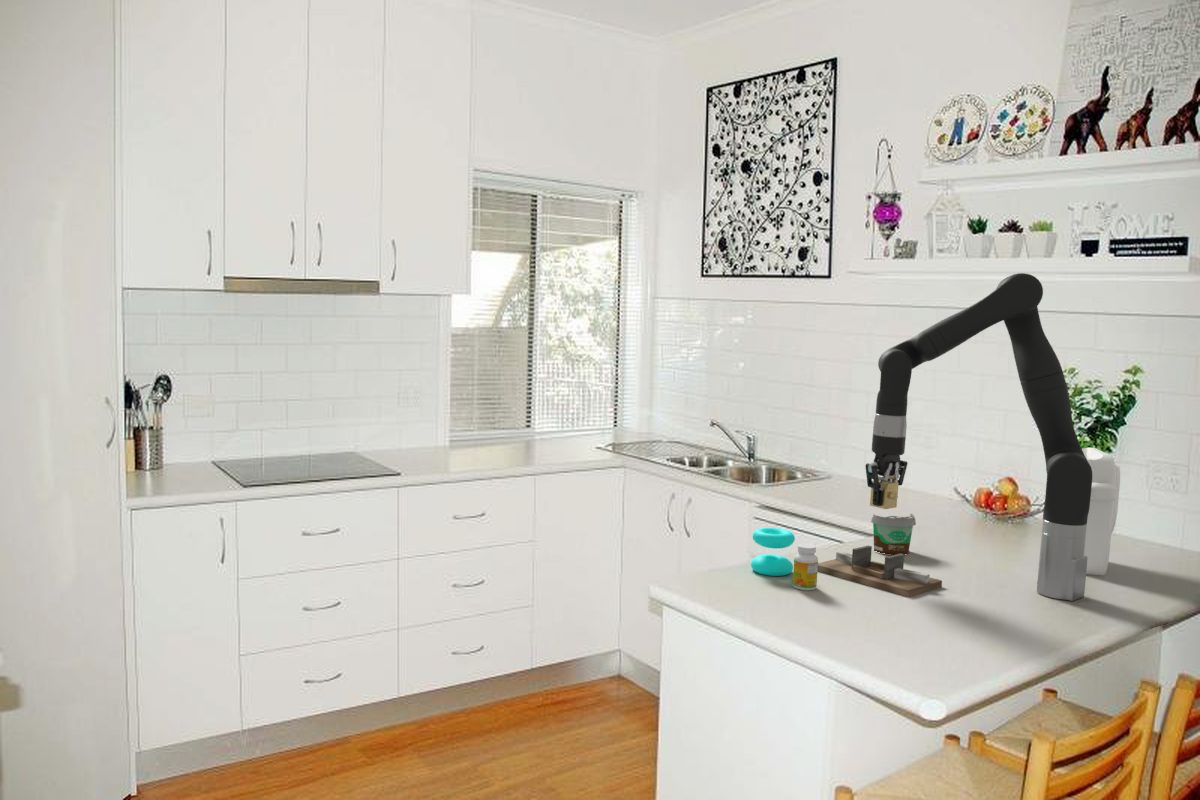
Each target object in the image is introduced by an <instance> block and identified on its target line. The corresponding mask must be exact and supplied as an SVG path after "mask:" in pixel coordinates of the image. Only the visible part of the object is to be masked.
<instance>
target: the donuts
mask: <svg viewBox="0 0 1200 800" xmlns="http://www.w3.org/2000/svg"><path fill="white" fill-rule="evenodd" d="M795 537H796V536H795V534H794V533H793V532H792V531H790V530H788V529H785V528H778V527H760V528H757V529H756V530H753V533H752V540H753V541H754V543H756V544H757V545H759V546H761V547H763V548H768V549H785V548H788V547H790V546H792V545H793V544H794V542H795V540H796V539H795ZM750 566H751V569H752V570H753V571H754V572H755V573H757V574H760V575H763V576H771V577H782V576H787V575H789V574H790V573H792V571H793V570H794V563H793V562H792V561H791V560H790V558H789V559H788V558H787V557H786V556H783V555H780V554H779V555H778V554H772V553H771V554H768V553H764V554H759V555H757V556H755V557H754V558H753V559H752V560H751V562H750Z"/></svg>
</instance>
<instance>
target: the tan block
mask: <svg viewBox="0 0 1200 800" xmlns="http://www.w3.org/2000/svg"><path fill="white" fill-rule="evenodd" d="M880 482H881V480H879V485H880ZM872 483H873V480H872ZM898 484H899V483H898V482H893V481H889V480H887V482H885V483H884V488H883V490H882V491H883V501H882V506H876V505H873V489H872V488H871V487H870V489H871V490H870V498H869V499H870V500H869V501H870V502H869V506H871V507H874V508H878V509H882V510H888V509H895V508H897V507H898V497H899V496H898V494H899V486H898Z"/></svg>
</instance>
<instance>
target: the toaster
mask: <svg viewBox="0 0 1200 800" xmlns="http://www.w3.org/2000/svg"><path fill="white" fill-rule="evenodd" d="M1081 449H1082V451H1083V453H1084V455H1085V457H1086V459H1087V461H1088V462H1089V464H1090V466H1091V469H1092V488H1091V498H1090V508H1089V513H1088V518H1087V528H1086V539H1085V551H1084V556H1087V557H1088V559H1087V570H1086V575H1093V576H1105V575H1106V573H1107V569H1108V566H1109V560H1110V559H1109V558H1110V552H1111V541H1112V534H1113V532H1114V531H1115V526H1116V523H1117V518H1118V507H1119V496H1120V488H1121V487H1120V485H1121V468H1120V466H1119V465H1117V464H1116V462H1115V460H1114V458H1113V457H1112V456H1111V454H1108V453H1106V452H1104V451H1102V450H1100V449H1099V448H1096V447H1089V446H1088V447H1081Z"/></svg>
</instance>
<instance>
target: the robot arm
mask: <svg viewBox="0 0 1200 800" xmlns="http://www.w3.org/2000/svg"><path fill="white" fill-rule="evenodd" d="M1043 296H1044V288H1043V285H1042V283H1041V281H1040V280H1039V278H1037V277H1036V276H1034V275H1032V274H1029V273H1023V272H1022V273H1021V272H1019V273H1013V274H1011V275H1009V276H1007V277H1005V278H1003V279H1001V281H1000V282H998V284H997V287H996V288H995V290H993V291H992V292H990V293H989V294H988V295H987V296H985V297H984V298H982V299H981V300H979V301H977V302H976V303H974V304H972V305H970V306H969V307H967V308H965V309H963V310H960V311H958V312H957V313H954V314H952V315H949V316H947V317H946V318H944V319H942V320H940V321H938V322H935V324H933V325H931V326H929V327H928V328H925V329H923V330H922V331H921V332H919V333H917V335H915V336H913V337H911V338H909V339H907V340H905V341H903V342H900V343H898V344H896V345H894V346H892V347H890V348H888V349H887V350H885V351H884V352H883V353H882V354H880V356H879V359H878V363H877V364H878V365H877V366H878V370H879V371H880V378H879V381H880V382H879V390H878V392H877V396H876V403H875V404H876V405H875V406H876V407H875V415H874V420H873V427H872V428H873V429H872V438H871V439H872V440H871V441H872V442H871V452H872V453H874V454H875V456H874V459H873V462H871V463H868V462H867V463H866V464H865V474H866V483H867V488H870V489H871V488H872V489H873V505H876V506H882V501H883V491H882V490H883V488H884V483H885V482H887V480H889V481H893V482H898V483H899V484H898V487H899V486H902V485H903V484H904V479H905V475H906V471H907V467H908V461H907V460H902V459H901V456H902V455H905V449H906V441H907V440H906V439H907V438H906V437H907V427H908V425H907V423H908V422H907V414H908V413H907V410H908V393H909V388H910V386H911V385H910V383H911V379H912V371H913V369H915V368H917V367H919V366H920V365H922V364H924V363H926V362H931V361H933V360H935V359H937V358H939V357H941V356H944V354H947V353H948V352H949V351H951V350H953V349H955V348H957V347H958V346H960V345H962V344H963V343H965V342H966V341H968V340H970V339H972V337H974V336H976V335H978V334H980V333H981V332H983V331H985V330H987V329H988V328H991V327H992V326H994V325H997V324H998V323H1000V322H1002V321H1003V323H1004V324H1005V325H1004V326H1005V327H1006V330H1007V332H1008V336H1009V339H1010V342H1011V343H1010V344H1011V346H1012V347H1011V348H1012V352H1013V357H1014V362H1015V366H1016V370H1017V374H1018V378H1019V382H1020V385H1021V389H1022V393H1023V395H1024V399H1025V401H1026V402H1025V403H1026V404H1027V407H1028V410H1029V412H1030V415H1031V417H1032V419H1033V421H1034V423H1035V425H1036V428H1037V429H1038V432H1039V435H1040V438H1041V443H1042V447H1043V453H1044V459H1045V467H1046V469H1045V470H1046V471H1045V472H1046V486H1045V495H1044V505H1043V511H1042V512H1043V513H1042V523H1041V524H1042V526H1041V534H1040V535H1041V536H1040V546H1039V547H1040V548H1039V558H1038V559H1039V560H1038V561H1039V562H1038V570H1037V571H1038V572H1037V581H1036V592H1037V593H1038V594H1039V595H1042V596H1044V597H1048V598H1050V599H1051V598H1052V599H1056V600H1065V601H1070V602H1074V601H1076V600H1078V599H1081V598H1084V597H1085V592H1086V591H1085V590H1086V579H1087V574H1086V570H1087V559H1088V557H1087V556H1084V551H1085V539H1086V528H1087V518H1088V513H1089V508H1090V498H1091V488H1092V469H1091V466H1090V464H1089V462H1088V461H1087V459H1086V457H1085V455H1084V453H1083V451H1082V446H1081V444H1080V441H1079V438H1078V437H1077V433H1076V430H1075V427H1074V422H1073V415H1072V405H1071V400H1070V395H1069V388H1068V385H1067V381H1066V377H1065V375H1064V371H1063V369H1062V368H1063V367H1062V365H1061V362H1060V360H1059V358H1058V356H1057V354H1056V352H1055V350H1054V349H1053V346H1052V344H1051V342H1049V339H1048V338H1047V336H1046V333H1045V332H1044V329H1043V325H1042V322H1041V318H1040V314H1039V309H1038V306H1039V305H1040V303H1041V301H1042V300H1043ZM879 480H881V482H880V485H879ZM872 481H873V483H872Z"/></svg>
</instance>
